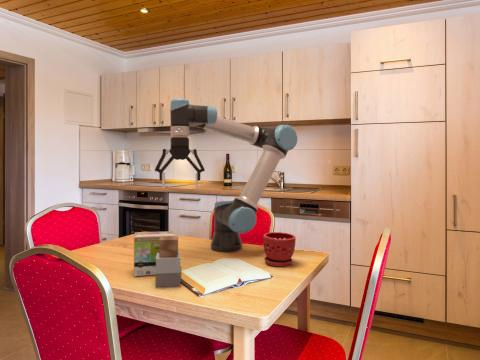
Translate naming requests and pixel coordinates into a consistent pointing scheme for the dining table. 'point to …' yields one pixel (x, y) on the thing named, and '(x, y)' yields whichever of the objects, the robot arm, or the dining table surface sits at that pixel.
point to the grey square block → (167, 264)
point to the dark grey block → (168, 279)
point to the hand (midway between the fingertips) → (180, 188)
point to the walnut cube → (168, 246)
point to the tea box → (147, 251)
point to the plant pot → (279, 248)
